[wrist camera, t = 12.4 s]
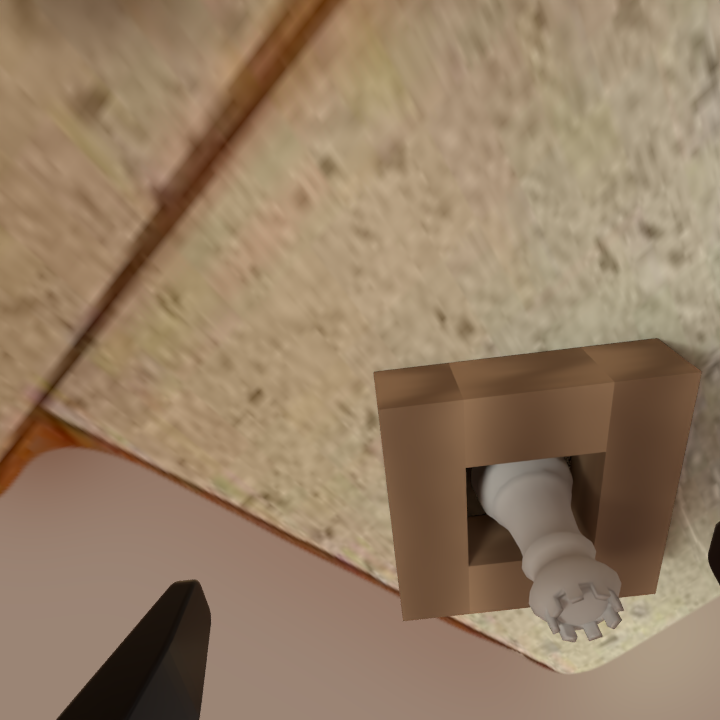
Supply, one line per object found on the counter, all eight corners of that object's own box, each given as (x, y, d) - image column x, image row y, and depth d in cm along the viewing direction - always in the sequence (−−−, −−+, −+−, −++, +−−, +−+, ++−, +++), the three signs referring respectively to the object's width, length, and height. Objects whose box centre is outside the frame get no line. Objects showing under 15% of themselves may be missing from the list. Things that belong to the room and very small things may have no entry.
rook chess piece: (459, 441, 24) (511, 589, 17) (556, 417, 23) (651, 558, 16) (476, 511, 26) (529, 670, 19) (566, 490, 25) (654, 644, 18)
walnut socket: (657, 338, 22) (701, 371, 19) (624, 544, 27) (655, 593, 24) (373, 372, 22) (378, 409, 19) (396, 570, 27) (403, 621, 25)
